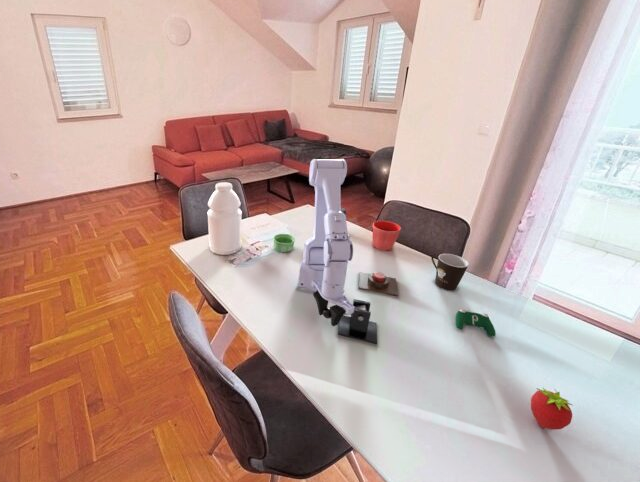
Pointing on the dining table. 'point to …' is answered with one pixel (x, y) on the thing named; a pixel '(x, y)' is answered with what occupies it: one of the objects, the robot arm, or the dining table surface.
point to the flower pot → (385, 234)
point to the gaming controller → (474, 321)
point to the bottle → (224, 220)
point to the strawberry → (550, 410)
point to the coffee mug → (449, 271)
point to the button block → (378, 284)
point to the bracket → (359, 324)
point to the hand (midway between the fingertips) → (328, 319)
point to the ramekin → (283, 242)
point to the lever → (328, 313)
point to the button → (379, 277)
